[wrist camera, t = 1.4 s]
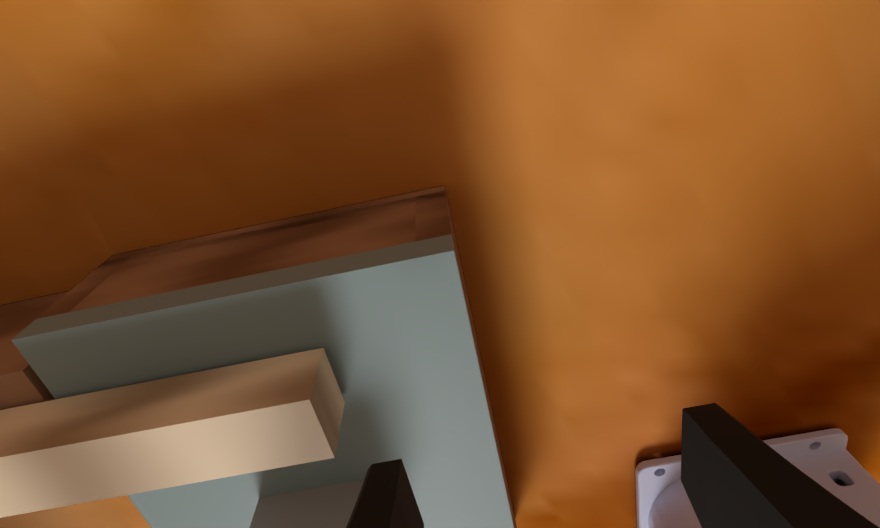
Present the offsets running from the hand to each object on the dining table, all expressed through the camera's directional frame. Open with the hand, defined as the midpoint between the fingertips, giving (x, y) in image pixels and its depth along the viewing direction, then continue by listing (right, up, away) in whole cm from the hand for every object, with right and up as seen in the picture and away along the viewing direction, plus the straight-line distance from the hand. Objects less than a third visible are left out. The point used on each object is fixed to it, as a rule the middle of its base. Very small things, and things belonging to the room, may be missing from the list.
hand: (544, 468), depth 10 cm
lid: (-6, -4, +8) cm, 11 cm away
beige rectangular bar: (-11, 0, +4) cm, 12 cm away
